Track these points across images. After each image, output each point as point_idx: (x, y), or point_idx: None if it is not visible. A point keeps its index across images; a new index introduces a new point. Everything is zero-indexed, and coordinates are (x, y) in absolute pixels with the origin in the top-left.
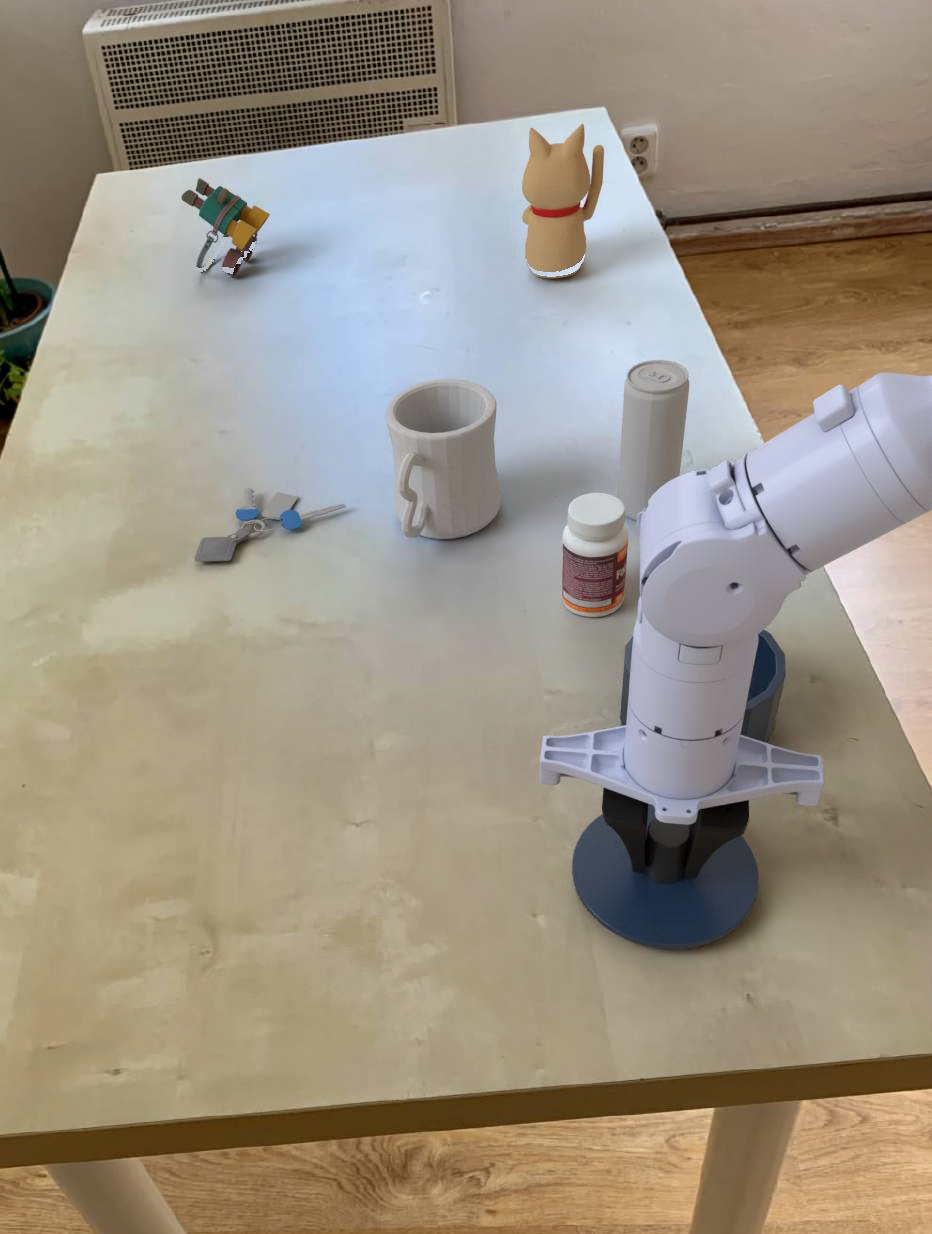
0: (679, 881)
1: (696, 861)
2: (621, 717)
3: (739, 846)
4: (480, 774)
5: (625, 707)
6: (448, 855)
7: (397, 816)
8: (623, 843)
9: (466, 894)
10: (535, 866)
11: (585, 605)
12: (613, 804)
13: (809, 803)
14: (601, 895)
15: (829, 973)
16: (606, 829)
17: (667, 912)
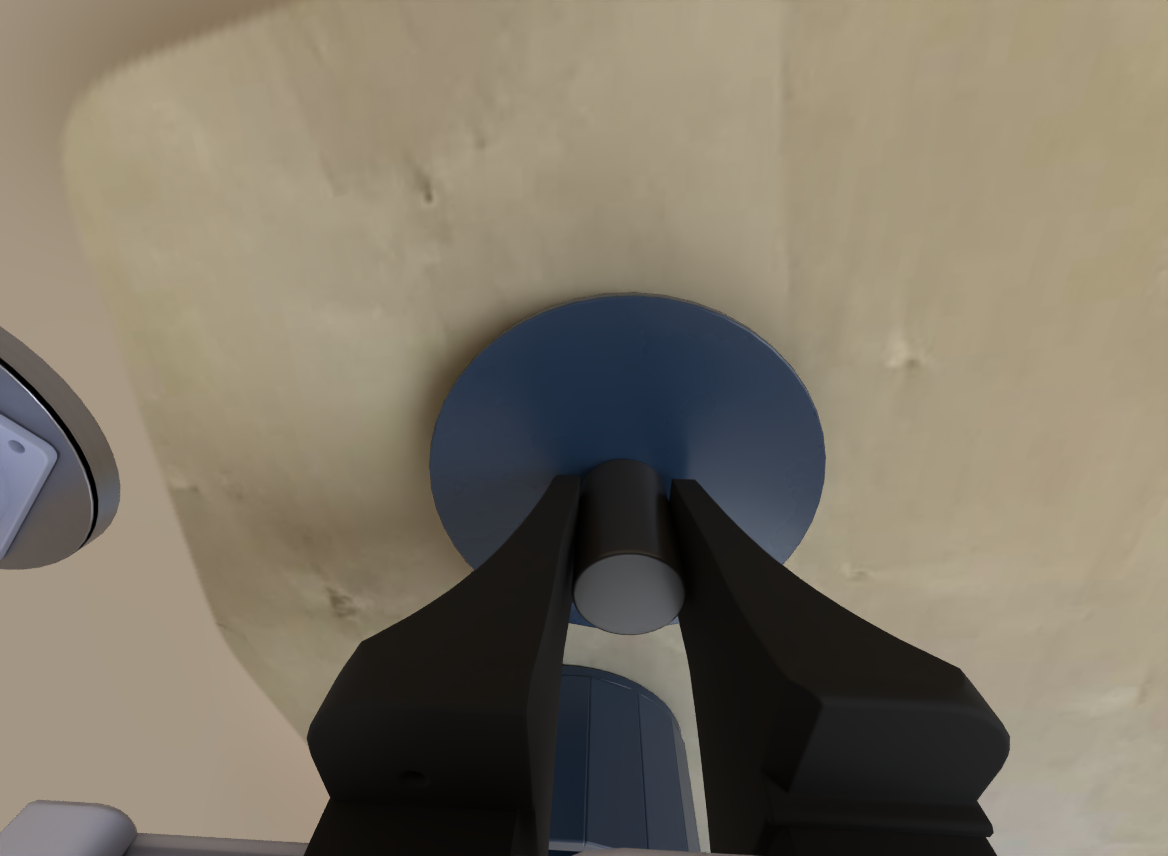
0: (590, 466)
1: (553, 513)
2: (684, 748)
3: (475, 548)
4: (945, 651)
5: (686, 784)
6: (1071, 493)
7: (1153, 569)
8: None
9: (1062, 403)
10: (881, 481)
11: None
12: (945, 774)
13: (42, 824)
14: (768, 418)
15: (270, 282)
16: None
17: (617, 387)
